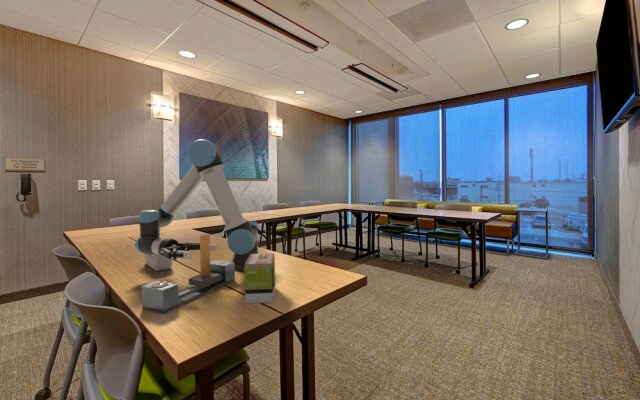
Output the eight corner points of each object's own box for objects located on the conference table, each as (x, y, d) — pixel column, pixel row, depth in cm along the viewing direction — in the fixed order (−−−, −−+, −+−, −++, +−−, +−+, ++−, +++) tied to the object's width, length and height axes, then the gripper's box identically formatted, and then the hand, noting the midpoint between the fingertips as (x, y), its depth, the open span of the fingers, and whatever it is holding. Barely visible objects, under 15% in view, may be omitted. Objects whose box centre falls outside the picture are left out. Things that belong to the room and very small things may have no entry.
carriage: (207, 277, 127) (206, 232, 125) (221, 279, 124) (221, 233, 122) (188, 284, 117) (187, 236, 116) (204, 287, 114) (203, 237, 113)
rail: (216, 277, 134) (216, 258, 133) (234, 280, 130) (234, 260, 129) (142, 309, 100) (141, 283, 100) (163, 314, 97) (162, 287, 96)
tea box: (250, 288, 120) (250, 252, 119) (275, 288, 121) (275, 252, 120) (244, 304, 105) (243, 263, 104) (273, 303, 106) (272, 262, 105)
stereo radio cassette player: (173, 269, 146) (172, 229, 145) (155, 272, 141) (153, 231, 139) (160, 261, 161) (158, 224, 160) (143, 263, 155) (141, 226, 154)
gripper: (189, 249, 139) (225, 253, 131) (139, 263, 116) (178, 269, 108) (188, 233, 139) (224, 237, 131) (138, 244, 116) (178, 249, 108)
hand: (203, 251), depth 119 cm, fingers open, 13 cm apart
